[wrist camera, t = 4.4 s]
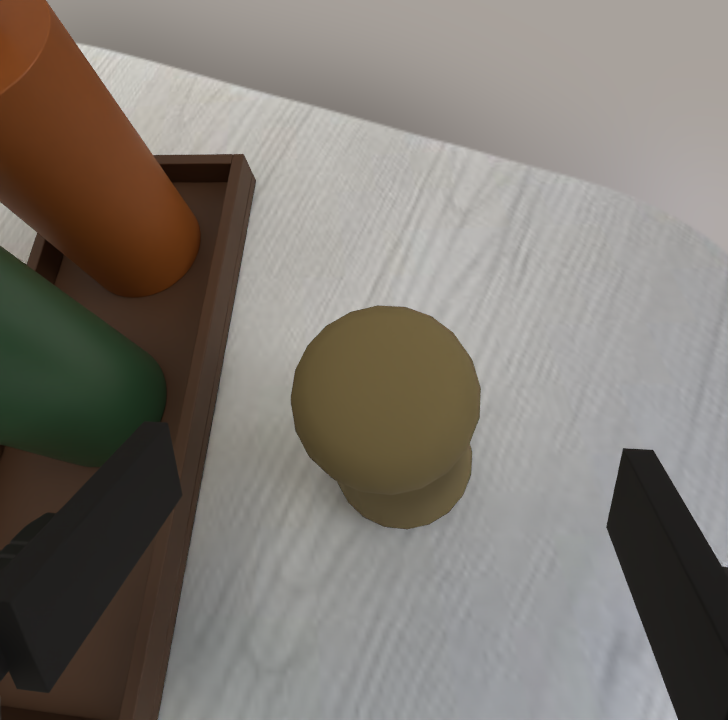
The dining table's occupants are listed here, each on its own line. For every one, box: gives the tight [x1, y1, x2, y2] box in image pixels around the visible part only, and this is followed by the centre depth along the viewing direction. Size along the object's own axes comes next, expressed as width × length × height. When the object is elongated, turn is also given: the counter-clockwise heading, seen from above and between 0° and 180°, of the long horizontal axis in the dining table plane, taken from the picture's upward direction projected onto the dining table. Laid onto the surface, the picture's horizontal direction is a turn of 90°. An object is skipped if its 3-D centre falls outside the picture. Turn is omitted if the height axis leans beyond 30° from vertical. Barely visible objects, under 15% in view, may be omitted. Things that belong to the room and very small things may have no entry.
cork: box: [291, 306, 481, 529], centre depth 19 cm, size 6×6×11 cm
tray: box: [0, 154, 256, 720], centre depth 25 cm, size 10×26×2 cm, turn 175°
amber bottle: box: [0, 0, 201, 298], centre depth 21 cm, size 6×6×17 cm
